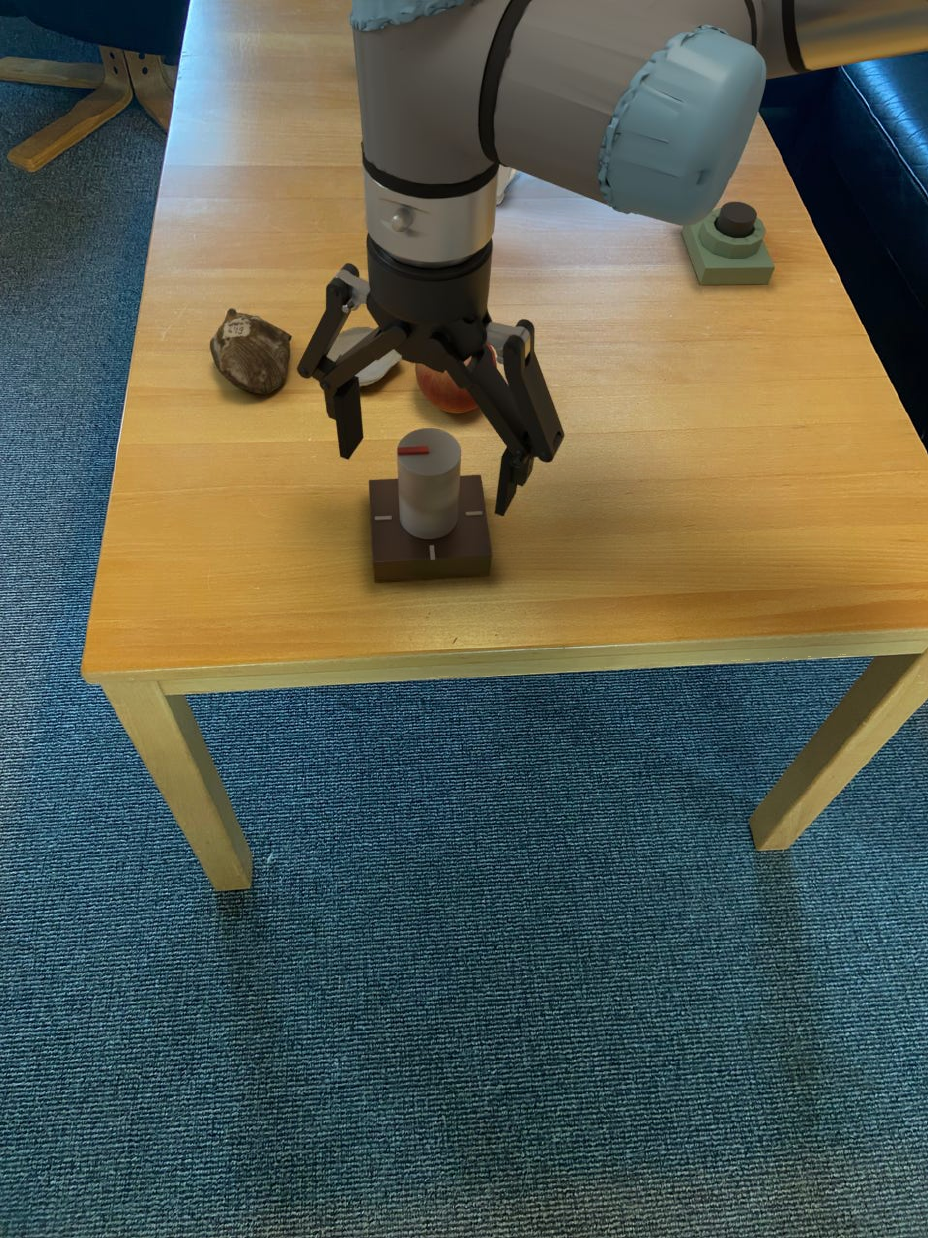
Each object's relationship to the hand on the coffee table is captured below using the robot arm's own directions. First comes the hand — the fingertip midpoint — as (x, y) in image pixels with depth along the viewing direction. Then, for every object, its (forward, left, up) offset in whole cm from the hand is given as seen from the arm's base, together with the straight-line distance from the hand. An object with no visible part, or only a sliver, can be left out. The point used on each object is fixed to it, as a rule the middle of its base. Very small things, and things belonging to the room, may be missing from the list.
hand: (427, 475), depth 67 cm
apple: (+5, -17, -8) cm, 20 cm away
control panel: (0, 0, -8) cm, 8 cm away
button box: (-14, -52, -8) cm, 55 cm away
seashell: (+15, -17, -8) cm, 24 cm away
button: (-14, -52, -5) cm, 54 cm away
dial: (0, 0, -5) cm, 5 cm away
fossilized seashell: (+25, -12, -8) cm, 29 cm away
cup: (+15, -52, -8) cm, 55 cm away
